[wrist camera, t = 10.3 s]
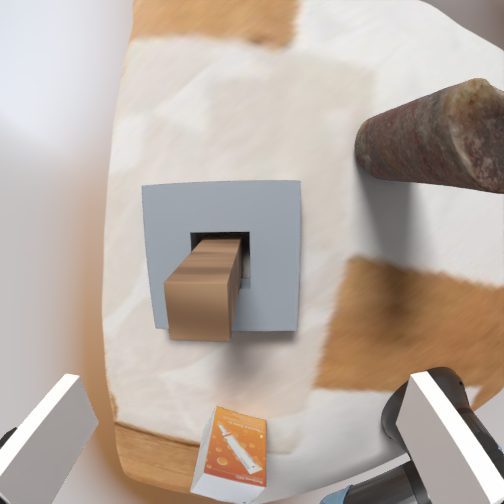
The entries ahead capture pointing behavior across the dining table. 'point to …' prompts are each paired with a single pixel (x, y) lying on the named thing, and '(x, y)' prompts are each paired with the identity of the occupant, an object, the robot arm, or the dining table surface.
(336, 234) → the dining table surface
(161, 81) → the dining table surface
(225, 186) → the socket
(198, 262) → the peg
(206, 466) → the small box
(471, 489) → the robot arm
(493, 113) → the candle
